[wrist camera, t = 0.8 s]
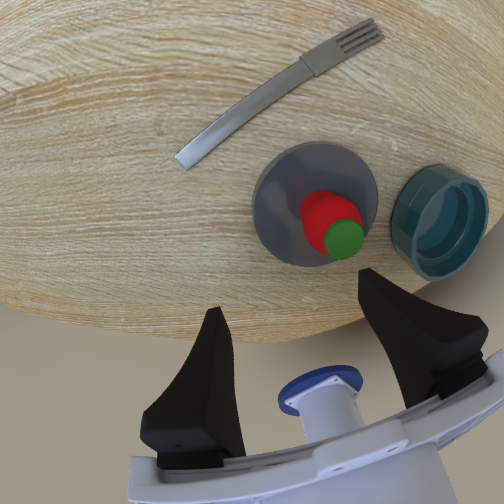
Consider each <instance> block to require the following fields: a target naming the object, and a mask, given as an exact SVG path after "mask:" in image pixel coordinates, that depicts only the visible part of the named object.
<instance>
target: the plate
mask: <svg viewBox="0 0 504 504" xmlns="http://www.w3.org/2000/svg"><path fill="white" fill-rule="evenodd" d="M320 190H325V191H329V192H331V193H333V194H334V195H336V196H340V197H343V198H345V199H347V200H349V201H350V202H351V203H352V204H353V205H354V206H355V207H356V208H357V210H358V212H359V214H360V216H361V220H362V229H363V232H364V238H365V237H366V235H367V233H368V232H369V230H370V228H371V226H372V224H373V222H374V219H375V216H376V211H377V205H378V193H377V186H376V183H375V180H374V177H373V175H372V173H371V171H370V169H369V168H368V166H367V165H366V164H365V163H364V161H363V160H362V159H361V158H359V157H358V156H357V155H356V154H354V153H353V152H351V151H349V150H347V149H345V148H343V147H341V146H338V145H336V144H332V143H327V142H309V143H303V144H300V145H297V146H294V147H292V148H290V149H288V150H286V151H284V152H283V153H281V154H280V155H278V156H277V157H276V158H275V159H274V160H272V161H271V163H270V164H269V165H268V166H267V167H266V168H265V170H264V171H263V173H262V174H261V176H260V178H259V180H258V182H257V184H256V186H255V189H254V193H253V198H252V217H253V221H254V225H255V229H256V232H257V234H258V237H259V238H260V240H261V242H262V243H263V245H264V246H265V247H266V249H267V250H268V251H269V252H271V253H272V254H273V255H274V256H276V257H277V258H278V259H280V260H282V261H284V262H287V263H289V264H292V265H297V266H304V267H314V266H321V265H325V264H329V263H332V262H334V261H337V260H339V259H335V258H333V257H331V256H330V255H326V254H322V253H320V252H318V251H316V250H315V249H314V248H313V247H312V246H311V245H310V244H309V243H308V241H307V239H306V237H305V235H304V231H303V222H302V220H301V217H300V208H301V205H302V203H303V201H304V200H305V198H306V197H307V196H308V195H310V194H311V193H313V192H316V191H320Z"/></svg>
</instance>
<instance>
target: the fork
mask: <svg viewBox="0 0 504 504" xmlns="http://www.w3.org/2000/svg"><path fill="white" fill-rule="evenodd" d="M373 21H374V20H373V19H372V18H370V19H368V20H366V21H364V22H362V23H360V24H358V25H356V26H354V27H352V28H350V29H348V30H346V31H344V32H342V33H340V34H338V35H336V36H335V37H333V38H331V39H329V40H327V41H325V42H324V43H322V44H320V45H318V46H317V47H315V48H313V49H312V50H310V51H308V52H307V53H305V54H303V55H302V56H300V57H299V58H300V59H301V60H299V61H297V62H296V63H294V64H293V65H291V66H290V67H288V68H286V69H285V70H283V71H282V72H280V73H279V74H277V75H276V76H274V77H273V78H271V79H270V80H269V81H267V82H266V83H264V84H263V85H261V86H260V87H259V88H257V89H256V90H254V91H253V92H252V93H250V94H249V95H248V96H246V97H245V98H243V99H242V100H241V101H239V102H238V103H237V104H236V105H234V106H233V107H232V108H230V109H229V110H228V111H227V112H225V113H224V114H223V115H221V116H220V117H219V118H218V119H216V120H215V121H214V122H213V123H212V124H210V125H209V126H208V127H207V128H205V129H204V130H203V131H202V132H201V133H200V134H198V135H197V136H196V137H195V138H194V139H193V140H191V141H190V142H189V143H188V144H187V145H186V146H185V147H183V148H182V149H181V150H180V151H179V152H178V153H177V154H176V155H175V156H174V158H175V159H176V160H177V161H178V162H179V163H180V164H181V165H182V166H183V167H184V168H185V169H186V170H187V171H188V170H189V169H190V168H191V167H192V166H194V165H195V164H196V163H197V162H198V161H199V160H201V159H202V158H203V157H204V156H205V155H206V154H208V153H209V152H210V151H211V150H212V149H214V148H215V147H216V146H217V145H218V144H220V143H221V142H222V141H223V140H225V139H226V138H227V137H228V136H230V135H231V134H232V133H233V132H235V131H236V130H237V129H238V128H240V127H241V126H242V125H244V124H245V123H246V122H248V121H249V120H250V119H252V118H253V117H254V116H256V115H257V114H258V113H260V112H261V111H262V110H264V109H265V108H266V107H268V106H269V105H271V104H272V103H273V102H275V101H276V100H278V99H279V98H280V97H282V96H283V95H285V94H286V93H288V92H289V91H291V90H292V89H293V88H295V87H296V86H298V85H299V84H301V83H302V82H304V81H305V80H307V79H309V78H310V77H312V76H314V77H317V76H318V75H320V74H322V73H323V72H325V71H326V70H328V69H330V68H331V67H333V66H335V65H336V64H338V63H340V62H341V61H343V60H345V59H346V58H348V57H350V56H352V55H353V54H355V53H357V52H359V51H360V50H362V49H364V48H366V47H368V46H369V45H371V44H373V43H375V42H377V41H379V40H381V39H383V38H385V36H384V34H381V35H379V36H377V37H375V38H373V39H371V40H369V41H367V42H365V43H363V44H362V45H360V46H358V47H356V48H354V49H353V50H351V51H349V52H347V53H344V52H345V51H347V50H348V49H350V48H352V47H354V46H355V45H357V44H359V43H361V42H363V41H365V40H367V39H368V38H370V37H372V36H374V35H376V34H378V33H380V32H381V30H380V29H376V30H374V31H372V32H370V33H368V34H367V35H365V36H363V37H361V38H359V39H357V40H355V41H353V42H351V43H350V44H348V45H346V46H344V47H342V48H341V47H340V46H341V45H343V44H345V43H347V42H349V41H350V40H352V39H354V38H356V37H358V36H360V35H362V34H364V33H366V32H368V31H370V30H372V29H374V28H376V27H378V26H377V24H376V23H375V24H372V25H370V26H368V27H366V28H364V29H362V30H360V31H358V32H356V33H354V34H352V35H350V36H349V37H347V38H345V39H343V40H341V41H339V42H338V43H337V42H336V40H338V39H340V38H342V37H344V36H345V35H347V34H349V33H351V32H353V31H355V30H357V29H359V28H361V27H363V26H365V25H367V24H369V23H371V22H373Z"/></svg>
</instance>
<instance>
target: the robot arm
mask: <svg viewBox="0 0 504 504" xmlns="http://www.w3.org/2000/svg"><path fill="white" fill-rule="evenodd" d="M358 301H359V304H360V306H361V308H362V311H363V313H364V315H365V317H366V319H367V320H368V322H369V324H370V325H371V327H372V329H373V330H374V332H375V333H376V335H377V337H378V339H379V340H380V342H381V344H382V345H383V347H384V349H385V351H386V353H387V355H388V357H389V360H390V362H391V364H392V367H393V370H394V372H395V375H396V378H397V380H398V383H399V386H400V389H401V392H402V395H403V399H404V402H405V406H406V410H404V411H402V412H400V413H397V414H395V415H393V416H390V417H388V418H385V419H383V420H380V421H378V422H375V423H373V424H370V425H368V426H365V424H364V421H363V418H362V416H361V413H360V411H359V408H358V406H357V403H356V400H355V399H356V398H358V397H360V393H359V392H358V391H356V390H355V389H354V388H353V387H351V386H350V385H349V384H348V383H346V382H345V381H344V380H343V379H342V378H340V377H339V376H338V375H332V376H330V377H329V378H327V379H325V380H323V381H321V382H319V383H317V384H316V385H314V386H312V387H310V388H308V389H306V390H304V391H302V392H300V393H298V394H296V395H294V396H292V397H290V398H288V399H286V400H285V401H284V402H285V404H287V405H289V406H291V407H293V408H295V409H297V410H299V414H300V418H301V422H302V426H303V430H304V433H305V437H306V442H307V444H306V445H301V446H298V447H293V448H289V449H284V450H279V451H274V452H268V453H263V454H257V455H251V456H246V452H245V448H244V443H243V439H242V433H241V428H240V423H239V417H238V411H237V405H236V398H235V388H234V354H233V345H232V338H231V333H230V330H229V328H228V325H227V323H226V320H225V318H224V315H223V313H222V310H221V308H220V306H219V307H215V308H210V309H208V310H207V312H206V315H205V318H204V321H203V324H202V326H201V329H200V332H199V334H198V336H197V339H196V341H195V343H194V345H193V348H192V349H191V352H190V354H189V356H188V357H187V359H186V361H185V363H184V364H183V366H182V368H181V369H180V371H179V373H178V374H177V375H176V377H175V378H174V380H173V381H172V382H171V384H170V385H169V386H168V387H167V389H166V390H165V391H164V392H163V393H162V395H161V396H160V397H159V398H158V399H157V400H156V401H155V402H154V403H153V404H152V405H151V406H150V407H149V408H148V409H147V410H145V411H144V413H143V417H142V421H141V431H140V439H141V440H142V442H144V443H145V444H146V445H147V446H149V447H150V448H152V449H153V450H155V451H156V452H157V458H155V457H148V456H131V457H130V462H129V475H128V493H127V500H128V501H130V502H133V503H136V504H459V503H458V501H457V498H456V495H455V492H454V490H453V487H452V485H451V482H450V480H449V477H448V475H447V472H446V470H445V467H444V465H443V462H442V460H441V458H440V456H439V453H438V451H439V450H441V449H443V448H444V447H446V446H447V445H449V444H450V443H452V442H454V441H455V440H457V439H458V438H460V437H461V436H463V435H464V434H466V433H467V432H468V431H470V430H471V429H473V428H474V427H476V426H477V425H478V424H480V423H481V422H482V421H484V420H485V419H486V418H488V417H489V416H490V415H491V414H493V413H494V412H495V411H496V410H498V409H499V408H500V407H501V406H503V405H504V351H503V350H502V349H500V350H499V351H497V352H496V353H494V354H493V355H491V356H490V357H489V358H488V359H486V360H485V362H484V361H483V359H482V357H483V353H482V352H481V351H480V350H481V348H482V346H483V344H484V342H485V340H486V338H487V336H488V331H489V329H488V327H487V326H486V324H485V323H484V322H483V321H482V320H481V318H480V317H479V316H474V315H468V314H463V313H459V312H455V311H451V310H448V309H445V308H442V307H439V306H436V305H433V304H431V303H429V302H427V301H424V300H422V299H420V298H418V297H416V296H414V295H412V294H410V293H409V292H407V291H405V290H403V289H402V288H400V287H398V286H397V285H395V284H394V283H392V282H390V281H389V280H387V279H386V278H384V277H383V276H381V275H380V274H378V273H377V272H375V271H374V270H372V269H370V268H366V269H363V270H359V274H358Z"/></svg>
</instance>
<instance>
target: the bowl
mask: <svg viewBox="0 0 504 504" xmlns="http://www.w3.org/2000/svg"><path fill="white" fill-rule="evenodd" d="M488 214H489V206H488V200H487V194H486V192H485V190H484V189H483V187H482V186H481V184H480V183H479V181H477V180H475V179H474V178H472V177H470V176H468V175H466V174H464V173H462V172H460V171H458V170H456V169H453V168H451V167H448V166H445V165H442V164H441V165H436V166H432V167H428V168H425V169H423V170H422V171H421V172H420V173H418V174H417V175H416V176H415V177H413V178H412V179H411V180H410V181H409V183H408V184H407V186H406V187H405V189H404V190H403V192H402V194H401V195H400V197H399V198H398V200H397V203H396V207H395V210H394V213H393V217H392V221H391V223H392V241H393V243H394V245H395V248H396V250H397V252H398V254H399V255H400V256H401V257H402V258H403V259H404V260H405V262H406V263H407V264H408V265H409V266H410V267H411V268H412V269H413V270H414V271H415V272H416V274H418V275H419V276H421V277H422V278H424V279H425V280H427V281H441V280H443V279H445V278H448V277H450V276H452V275H454V274H456V273H457V272H458V271H459V270H460V269H461V268H462V267H463V266H465V265H466V264H467V263H468V262H469V261H470V259H471V258H472V256H473V255H474V253H475V252H476V250H477V249H478V247H479V246H480V243H481V241H482V238H483V236H484V233H485V231H486V228H487V222H488Z"/></svg>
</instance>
